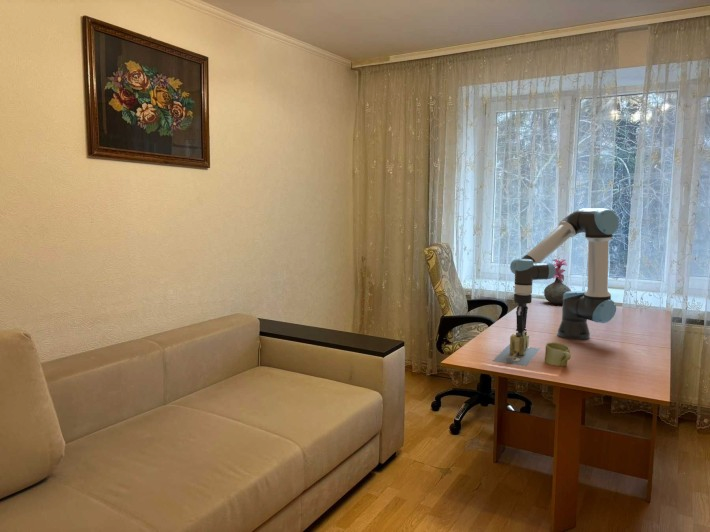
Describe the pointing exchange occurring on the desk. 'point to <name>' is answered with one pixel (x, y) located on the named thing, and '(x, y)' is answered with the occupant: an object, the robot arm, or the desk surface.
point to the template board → (519, 359)
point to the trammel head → (517, 344)
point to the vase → (557, 285)
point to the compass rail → (510, 359)
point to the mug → (557, 354)
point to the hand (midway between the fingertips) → (520, 345)
